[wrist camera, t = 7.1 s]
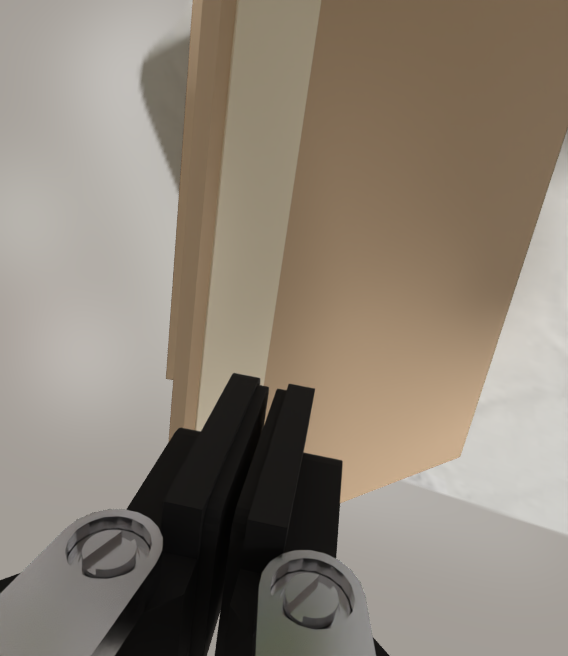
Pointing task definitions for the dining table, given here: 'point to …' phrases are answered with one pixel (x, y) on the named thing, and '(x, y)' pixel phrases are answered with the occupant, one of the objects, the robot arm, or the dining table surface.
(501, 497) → the dining table surface
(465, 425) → the box lid
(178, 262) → the cardboard box
